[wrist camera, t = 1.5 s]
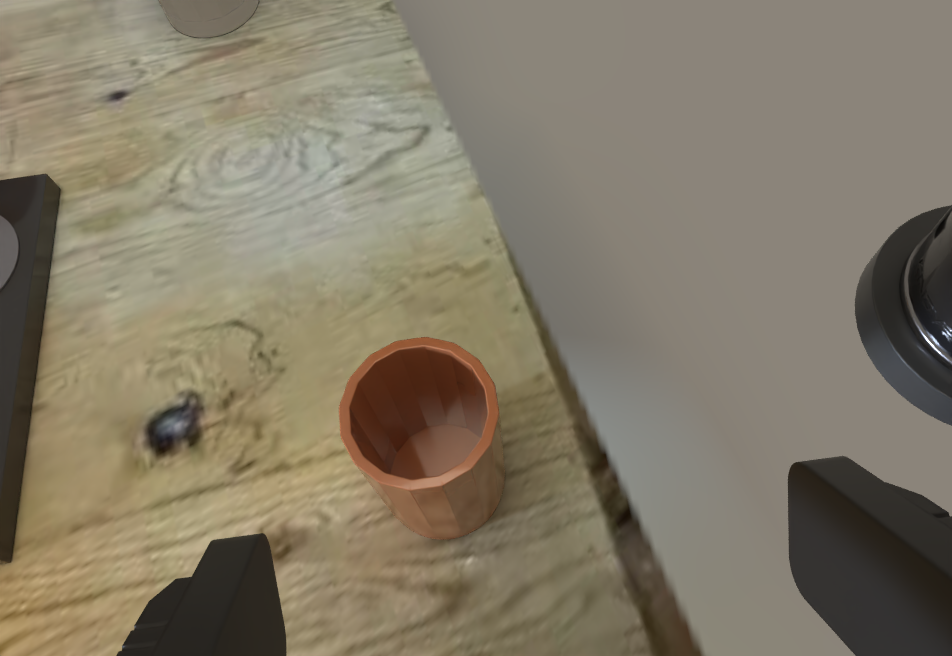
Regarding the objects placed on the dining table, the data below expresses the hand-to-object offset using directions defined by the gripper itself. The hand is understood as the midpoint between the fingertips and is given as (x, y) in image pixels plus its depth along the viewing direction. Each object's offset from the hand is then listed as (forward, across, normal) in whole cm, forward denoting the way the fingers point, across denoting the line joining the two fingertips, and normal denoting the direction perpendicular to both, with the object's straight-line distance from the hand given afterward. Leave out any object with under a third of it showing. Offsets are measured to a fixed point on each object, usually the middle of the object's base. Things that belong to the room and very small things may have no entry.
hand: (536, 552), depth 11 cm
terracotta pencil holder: (+24, +1, +9) cm, 25 cm away
